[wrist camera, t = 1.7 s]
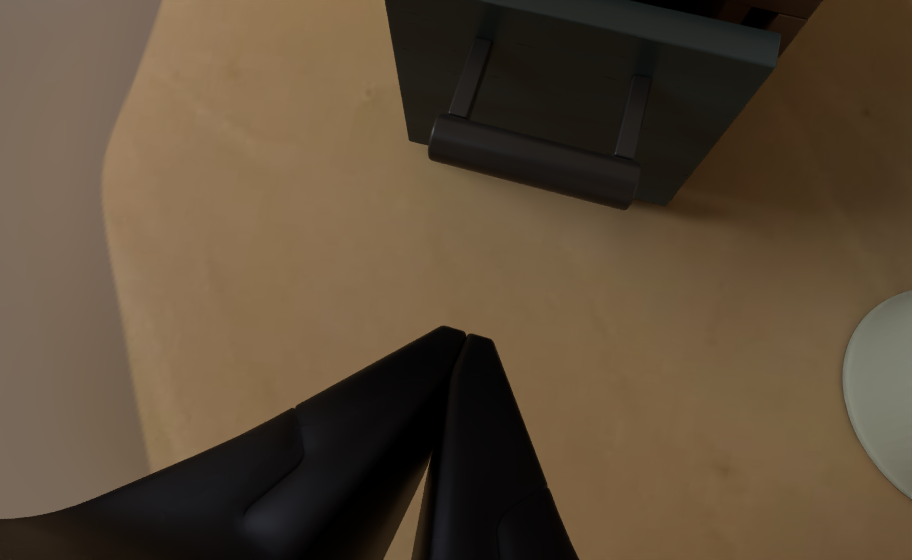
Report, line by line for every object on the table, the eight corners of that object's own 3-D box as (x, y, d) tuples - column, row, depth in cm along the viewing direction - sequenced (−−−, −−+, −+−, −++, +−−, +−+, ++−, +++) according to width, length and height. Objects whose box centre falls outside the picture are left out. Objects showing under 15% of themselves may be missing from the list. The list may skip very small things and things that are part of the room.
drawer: (646, 301, 22) (756, 206, 14) (376, 227, 23) (327, 97, 15) (714, -34, 27) (824, -251, 19) (490, -81, 29) (501, -305, 20)
